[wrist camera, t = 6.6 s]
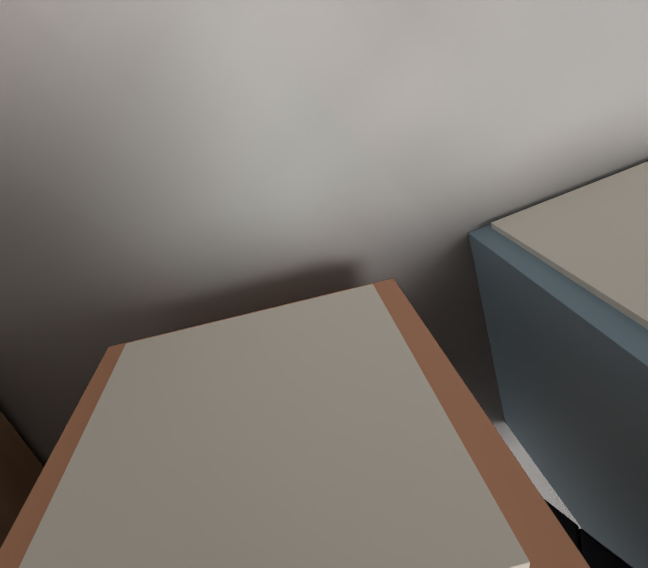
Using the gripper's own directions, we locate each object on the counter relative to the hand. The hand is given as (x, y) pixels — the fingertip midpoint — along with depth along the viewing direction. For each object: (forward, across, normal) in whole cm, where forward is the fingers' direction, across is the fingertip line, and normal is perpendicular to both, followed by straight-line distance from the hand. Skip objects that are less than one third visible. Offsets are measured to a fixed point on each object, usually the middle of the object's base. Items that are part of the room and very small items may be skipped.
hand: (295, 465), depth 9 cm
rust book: (+1, 0, 0) cm, 1 cm away
